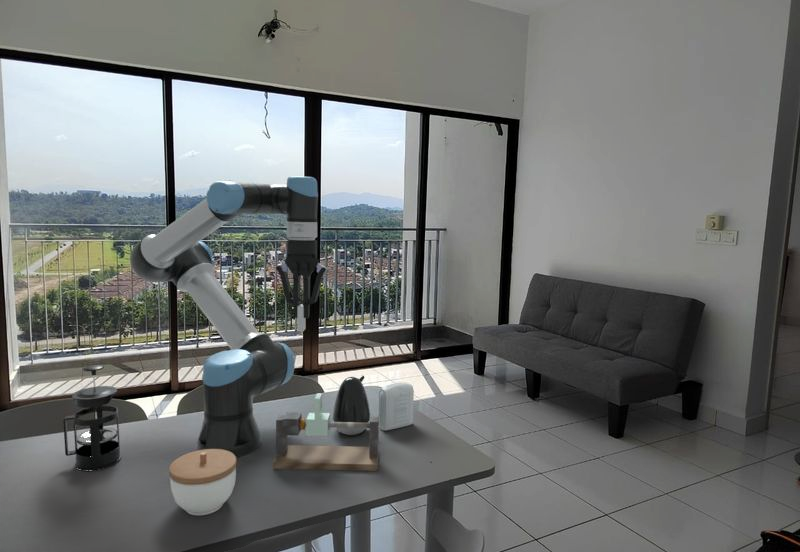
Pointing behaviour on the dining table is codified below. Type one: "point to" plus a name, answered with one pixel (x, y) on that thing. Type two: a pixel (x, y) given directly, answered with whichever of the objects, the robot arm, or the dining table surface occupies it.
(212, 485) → the lidded bowl
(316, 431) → the pale green block
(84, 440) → the french press
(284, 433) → the rod stand
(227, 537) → the dining table surface
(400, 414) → the photo printer
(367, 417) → the pump dispenser
